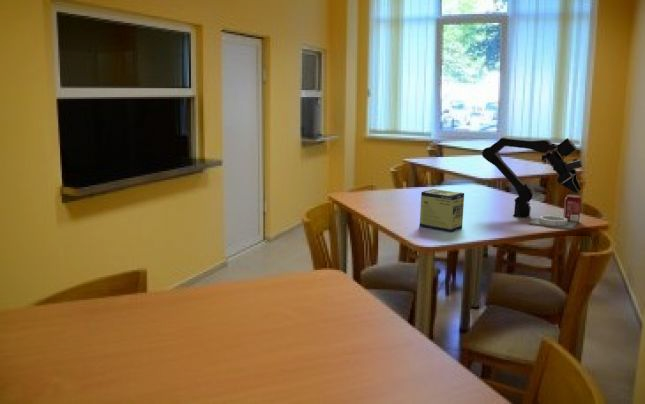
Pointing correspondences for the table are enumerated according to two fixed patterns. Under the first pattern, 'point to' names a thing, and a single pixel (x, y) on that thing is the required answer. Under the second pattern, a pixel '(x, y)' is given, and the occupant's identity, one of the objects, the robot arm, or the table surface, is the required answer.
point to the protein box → (441, 210)
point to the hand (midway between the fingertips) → (578, 191)
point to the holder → (553, 222)
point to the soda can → (572, 208)
